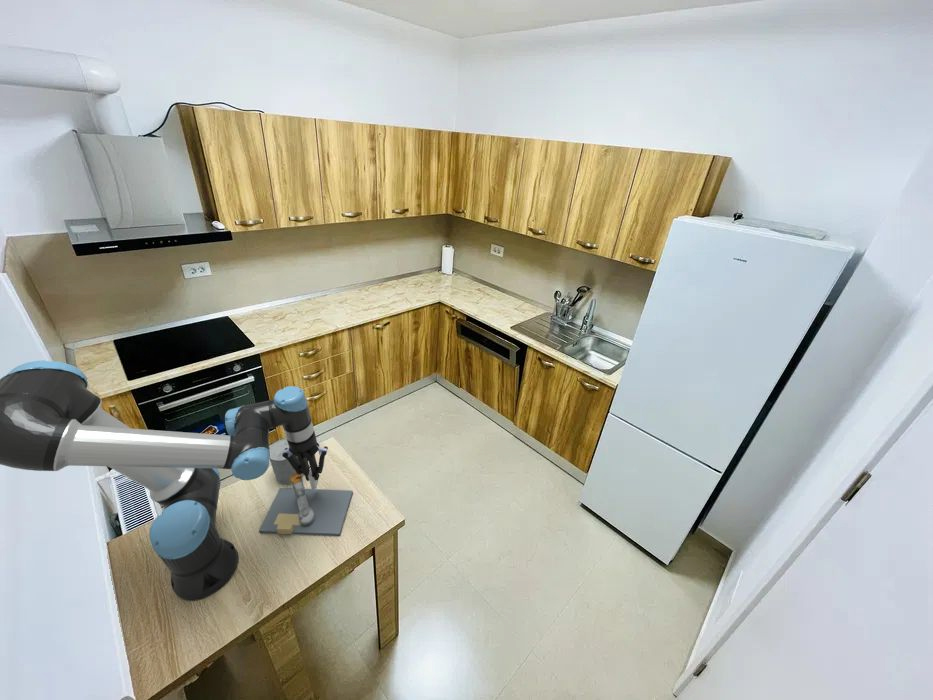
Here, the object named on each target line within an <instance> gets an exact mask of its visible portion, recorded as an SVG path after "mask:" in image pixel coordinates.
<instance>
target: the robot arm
mask: <svg viewBox="0 0 933 700" xmlns="http://www.w3.org/2000/svg"><path fill="white" fill-rule="evenodd" d="M88 387H89V383H88V377H87V376H86V374H85V373H84V372H83V371H82V370H81V369H80V368H79V367H77V366H74V365H71V364H69V363H66V362H61V361H57V360H52V361H50V360H34V361H29V362H25V363H22V364H19V365H18V366H15V367H14V368H12V369H11V370H10V371H9V372H8V373H7V374H6V375H4V376H2V377H1V378H0V465H1V466H5V467H8V468H12V469H18V470H19V469H20V470H26V471H34V472H35V471H37V472H58V471H61V470H62V469H64V468H66V467H69V466H71V467H73V466H74V467H77V466H79V467H82V466H83V467H108V468H110V469H112V470H114V471H116V473H119V474H120V475H123V476H124V477H126V478H128V479H130V480H132V481H133V482H135V483H137V484H139V485H140V486H142V487H144V488H145V489H147V490H149V491H150V492H149V497H150V499H151V500H152V501H153V502H156V503H158V504H159V505H161V506H163V510H162V511H161V513H160V514H159V515H156V517H155V518H154V520H153V521H152V523H151V526H150V528H149V530H148V531H149V532H148V539H149V542H150V544H151V547H152V549H153V551H154V552H155V554H156V555H158V557H160V559H161V561H162V562H163V563H164V565H166V567H167V568H168V570H169V571H170V585H171V589H172V591H173V593H174V594H175V595H176V596H177V597H178V598H179V599H180V600H184V601H189V602H192V601H199V600H204V599H205V598H208V597H210V596H212V595H213V594H215V593H217V592H218V591H219V590H221V589H222V588H223V587H224V586H225V585H226V584H227V583H229V581H230V580H231V579H232V577H233V575H234V574H235V572H236V570H237V568H238V566H239V565H238V564H239V553H238V551H237V548H236V546H235V545H234V544H233V543H232V542H231V541H229V540H227V539H225V538H223V537H221V536H220V533H219V531H218V530H217V528H216V522H217V521H216V520H217V511H218V503H219V498H220V496H219V495H220V488H221V475H220V474H221V473H220V471H219V469H222V470H231V473H232V475H233V476H234V477H235V478H236V479H240V480H241V481H251V480H252V481H253V480H256V479H258V478H260V477H261V476H263V475H264V474H265V473H266V472H267V470H268V469H269V467H270V465H269V464H270V459H269V457H270V451H269V448H270V438H269V437H270V430H272V429H275V428H278V427H281V426H282V429H283V431H284V435H285V439H286V438H287V442H288V445H289V449H288V448H285V450H284V452H283V455H282V456H283V457H284V458H286V459H287V460H288V461H289V463H290V464H291V465H292V467H293V468H294V470H295V471H296V472H297V474H299V475H300V474H304V478H305V480H306V481H307V482H309V484H310V489H318V488H317V487H318V485H319V478H320V474H322V473H323V470H324V465H325V458H326V455H327V452H328V450H329V447H328V446H323V447H322V446H320V443H318V440H317V436H316V432H315V429H314V425H313V421H312V417H311V412H310V409H309V408H310V407H309V404H308V400H307V398H306V394H305V392H304V390H303V389H302V388H300V387H299V386H294V385H289V386H285V387H283V388H281V389H278V391H276V392H275V394H274V396H273V398H272V399H270V400H269V399H268V400H265V401H261V402H255V403H251V404H246V405H244V404H243V405H241V406H238V407H235V408H230V409H228V410H227V411H226V412H225V415H224V425H225V429H226V432H227V434H228V435H226V434H212V433H201V432H200V433H199V432H183V431H173V430H172V431H170V430H155V429H144V428H131V427H129V426H128V425H127V424H125V423H124V422H122V421H121V420H119V419H118V418H116V417H115V416H113V415H112V414H110V413H109V412H107V411H105V410H104V409H103V408H102V406H103V405H102V404H103V400H102V398H100V397H99V396H97V395H96V394H95V393H93V392H92V391H90V390H89V389H88ZM317 452H318V455H319V458H318V462H317V459H316V453H317ZM296 456H297V457H298V458H297V457H296Z"/></svg>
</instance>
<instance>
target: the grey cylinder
mask: <svg viewBox="0 0 933 700" xmlns="http://www.w3.org/2000/svg"><path fill="white" fill-rule="evenodd" d="M285 448H288V449H289V445H288V442H287V438H286V437H285V438H282V439H279V440H277V441H275V442H274V443H272V444H271V445H269V451H270V457H269V463H270V465H271V468H272V470H273V474H274V476H275V480H276V481H277V483H279V484H280V485H284V486H286V485H292V484H291V482H290V476H291V475H293V474H294V473H297V472H296V471H295V470H294V468H293V467H292V465H291V464H290V463H289V461H288V460H287V459H286V458H284V457H283V456H282V455H283V452H284V450H285ZM296 457H297V456H296ZM297 458H298V457H297ZM301 476H302V478H303V477H305V475H304V474H301Z"/></svg>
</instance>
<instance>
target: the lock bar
mask: <svg viewBox="0 0 933 700" xmlns="http://www.w3.org/2000/svg"><path fill="white" fill-rule="evenodd" d="M290 482H291V484H290V485H291V488H293V491H294V494H295V497H296V500H297V503H298V507H299V511H300V512H299V514H298V519H299V522H300V524H301V525H302V526H308V525H310V524H312V523H313V522H314V520H315V515H314V512H313V509H311V508H309V505H308V501H307V495H306V491H305V489H306V488H305V485H304V482H303V477H302V476H301V474H300V475H299V474H297V473H294V474H293V475H291V476H290ZM304 509H308V510H309V514H308V515H307V516H305V517H304V516H302V513H301V512H302V511H303V510H304Z"/></svg>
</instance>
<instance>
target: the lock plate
mask: <svg viewBox="0 0 933 700" xmlns="http://www.w3.org/2000/svg"><path fill="white" fill-rule="evenodd" d="M305 491H306V495H307V501H308V505H309V508H311V509H313V512H314V515H315V520H314V522H313V523H312V524H310V525H308V526H302V525H301V524H300V522H299V519H298V514H299V512H300V511H299V507H298V503H297V500H296V497H295V494H294V491H293V487H279V488H278V490H277V493H276V495H275V497H274V499H273V501H272V503H271V506H270V507H269V510H268V511H267V513H266V515H265V517H264V519H263V521H262V523H261V525H260V527H259V529H258V533H259V534H269V535H270V534H272V535H273V534H274V535H279V534H280V535H302V536H305V535H306V536H327V537H329V536H331V537H332V536H333V537H336V536H337V537H341V535H342V531H343V528H344V524H345V521H346V517H347V514H348V511H349V507H350V505H351V502H352V501H351V500H352V497H353V493H354V491H353V490H351V489H350V490H348V489H347V490H346V489H345V490H344V489H324V488H322V489H321V488H320V489H319V488H316V489H312V488H305ZM301 513H302V516H304V517H305V516H307V515H308V514H309V510H308V509H304V510H303V511H302V512H301Z"/></svg>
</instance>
